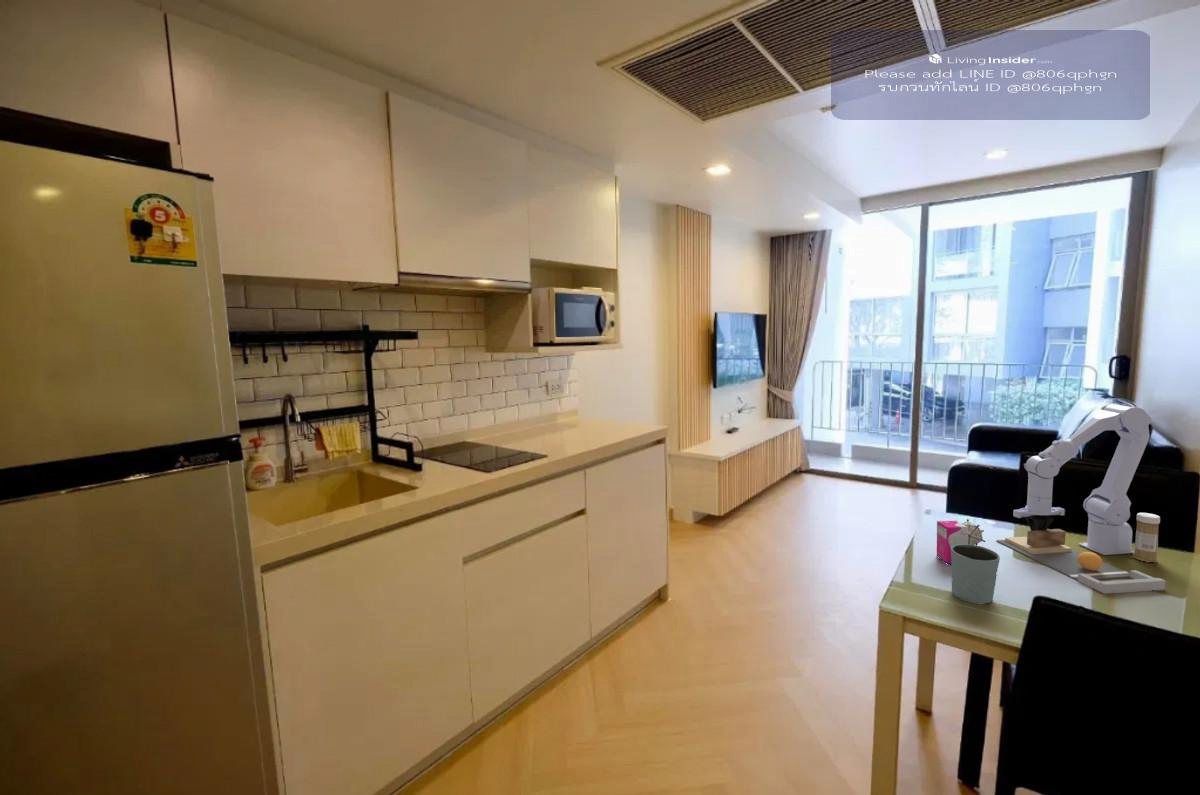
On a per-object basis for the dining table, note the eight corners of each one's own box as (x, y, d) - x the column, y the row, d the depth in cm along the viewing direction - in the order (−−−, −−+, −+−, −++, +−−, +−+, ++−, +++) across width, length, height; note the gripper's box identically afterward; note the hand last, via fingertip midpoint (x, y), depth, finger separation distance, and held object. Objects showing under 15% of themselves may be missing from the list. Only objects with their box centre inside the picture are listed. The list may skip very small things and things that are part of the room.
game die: (975, 558, 161) (998, 540, 155) (949, 550, 161) (972, 532, 155) (964, 535, 168) (986, 517, 162) (940, 527, 168) (961, 509, 162)
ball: (1087, 562, 145) (1092, 547, 143) (1104, 574, 140) (1110, 559, 139) (1070, 563, 145) (1075, 548, 143) (1087, 575, 140) (1092, 560, 139)
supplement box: (955, 556, 155) (957, 520, 154) (967, 565, 149) (969, 527, 148) (935, 556, 156) (936, 520, 154) (946, 565, 150) (947, 527, 148)
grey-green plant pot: (951, 583, 139) (953, 540, 138) (998, 593, 133) (1000, 549, 131) (947, 598, 132) (948, 554, 130) (997, 610, 125) (999, 563, 124)
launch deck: (1044, 538, 165) (1045, 530, 164) (1164, 589, 131) (1165, 580, 131) (996, 541, 164) (996, 533, 164) (1104, 593, 130) (1105, 584, 130)
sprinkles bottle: (1158, 560, 146) (1162, 515, 145) (1154, 564, 144) (1158, 518, 142) (1135, 555, 150) (1139, 510, 149) (1131, 559, 148) (1134, 514, 146)
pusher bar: (1058, 542, 156) (1059, 529, 156) (1064, 544, 155) (1065, 531, 154) (1026, 544, 156) (1027, 531, 156) (1032, 546, 154) (1033, 533, 154)
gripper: (1050, 490, 161) (1048, 532, 162) (1005, 493, 160) (1003, 534, 162) (1072, 497, 154) (1069, 540, 155) (1025, 500, 153) (1023, 543, 155)
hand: (1037, 538), depth 158 cm, fingers closed, pressing on pusher bar
